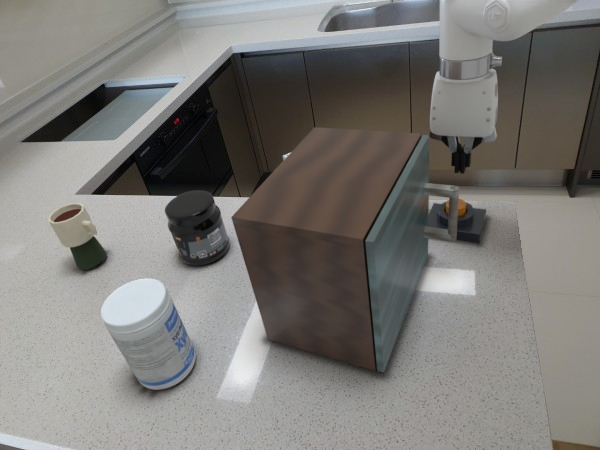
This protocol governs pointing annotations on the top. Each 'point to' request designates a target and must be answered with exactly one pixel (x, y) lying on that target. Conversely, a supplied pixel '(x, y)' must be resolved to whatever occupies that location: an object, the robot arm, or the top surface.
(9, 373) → the top surface
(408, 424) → the top surface
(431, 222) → the switch block
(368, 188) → the cupboard
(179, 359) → the supplement tub
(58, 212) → the character mug
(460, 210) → the button
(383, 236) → the cupboard door
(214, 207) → the supplement container
